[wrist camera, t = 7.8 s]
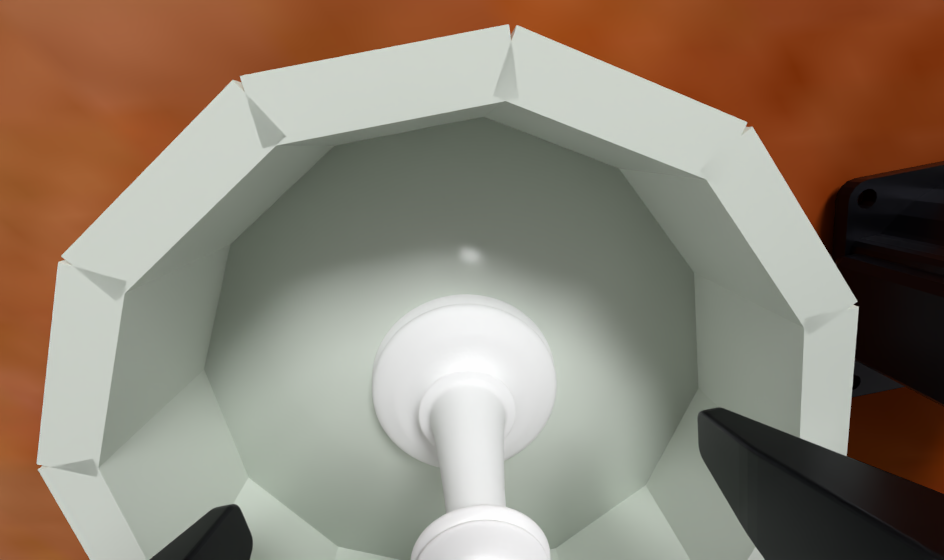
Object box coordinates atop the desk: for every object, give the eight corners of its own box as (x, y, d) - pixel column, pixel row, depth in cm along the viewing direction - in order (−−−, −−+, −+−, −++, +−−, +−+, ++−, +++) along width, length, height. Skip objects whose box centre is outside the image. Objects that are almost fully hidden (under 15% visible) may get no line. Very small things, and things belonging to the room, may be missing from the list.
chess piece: (589, 384, 12) (1091, 1201, 3) (456, 485, 13) (491, 1413, 3) (474, 255, 11) (665, 937, 2) (333, 374, 12) (-141, 1356, 2)
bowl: (708, 29, 11) (887, -49, 6) (719, 516, 15) (829, 664, 11) (93, 149, 11) (-147, 150, 6) (285, 603, 15) (222, 788, 11)
